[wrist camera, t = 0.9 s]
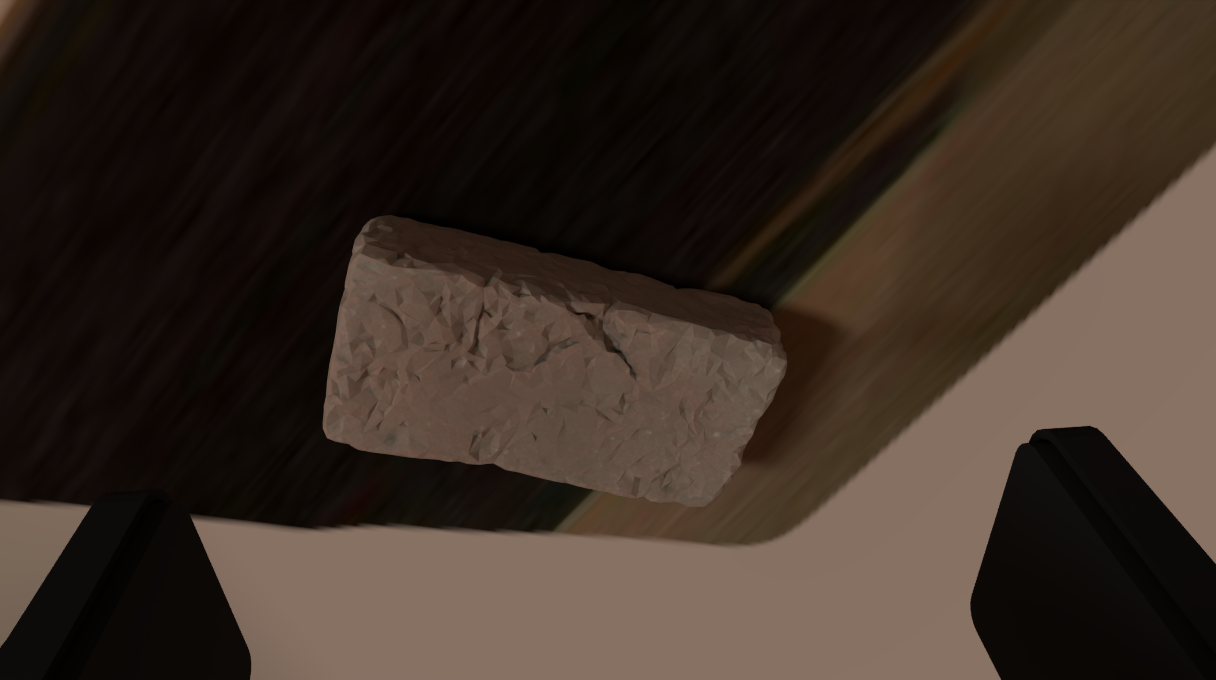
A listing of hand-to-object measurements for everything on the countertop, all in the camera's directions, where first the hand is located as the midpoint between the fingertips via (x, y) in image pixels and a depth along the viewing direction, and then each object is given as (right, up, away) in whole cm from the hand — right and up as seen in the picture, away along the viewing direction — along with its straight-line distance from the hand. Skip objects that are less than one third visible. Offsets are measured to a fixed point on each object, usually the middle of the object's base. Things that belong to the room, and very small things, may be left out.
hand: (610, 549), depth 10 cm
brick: (-2, +3, +25) cm, 25 cm away
